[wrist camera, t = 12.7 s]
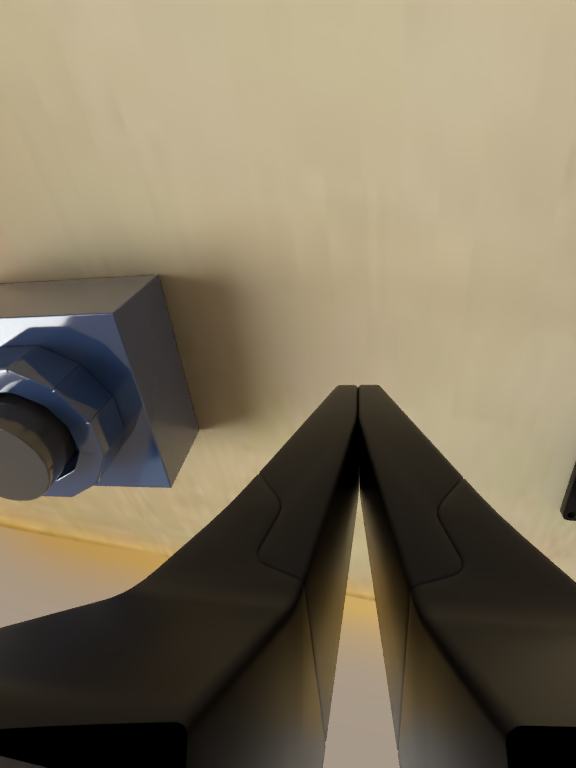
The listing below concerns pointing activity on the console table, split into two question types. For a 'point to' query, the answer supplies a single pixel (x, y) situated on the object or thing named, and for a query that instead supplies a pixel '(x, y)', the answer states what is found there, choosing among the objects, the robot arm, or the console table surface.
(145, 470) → the blue stepped block
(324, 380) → the console table surface
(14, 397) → the cylinder
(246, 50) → the console table surface
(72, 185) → the console table surface
